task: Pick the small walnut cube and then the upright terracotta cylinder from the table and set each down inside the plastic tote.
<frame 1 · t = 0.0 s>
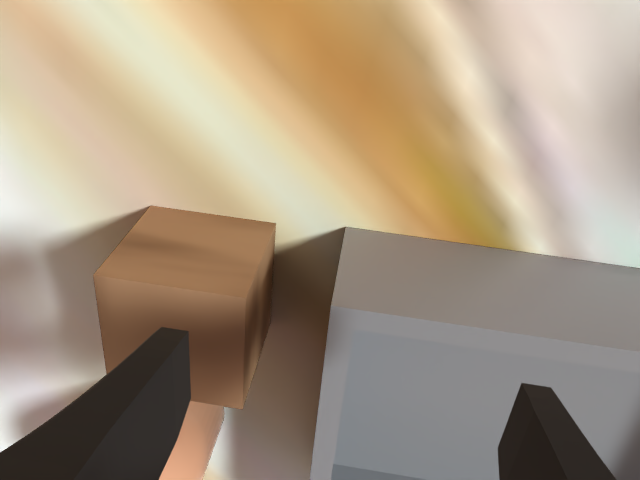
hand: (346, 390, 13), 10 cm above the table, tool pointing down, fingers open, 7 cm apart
tote: (530, 391, 25), on the table
terracotta cylinder: (174, 405, 29), on the table
walnut cube: (213, 266, 24), on the table
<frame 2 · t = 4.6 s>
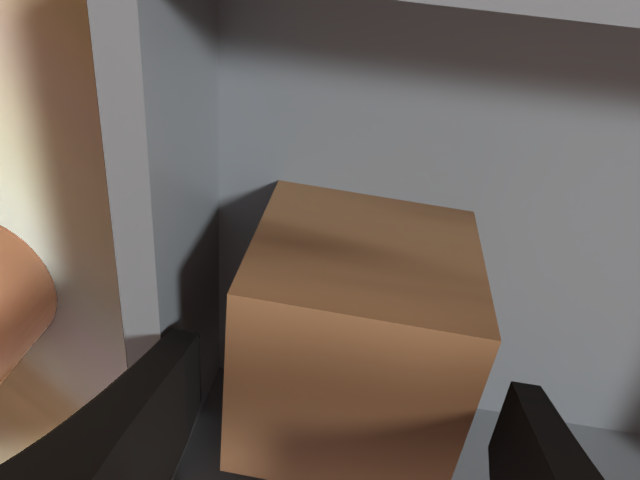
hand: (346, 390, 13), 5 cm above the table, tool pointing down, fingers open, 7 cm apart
tote: (520, 230, 15), on the table
walnut cube: (360, 276, 16), point 1 cm above the table, touching tote
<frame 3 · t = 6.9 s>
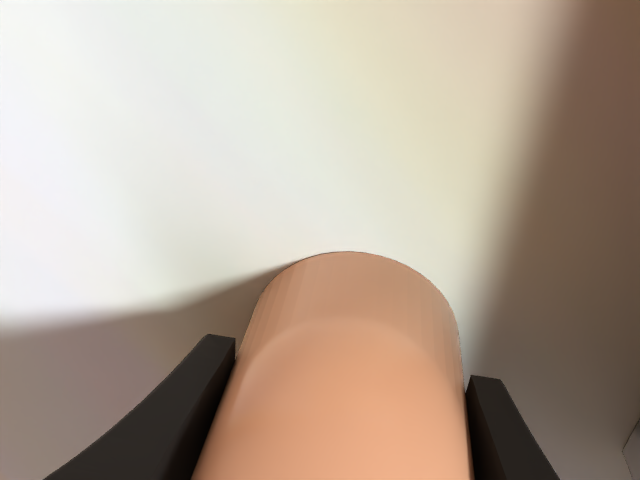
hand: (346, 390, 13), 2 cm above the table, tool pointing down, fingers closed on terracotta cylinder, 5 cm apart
terracotta cylinder: (353, 339, 14), on the table, touching gripper
when the fingers open (4 cm above the table, at t = 10.4 s): terracotta cylinder drops 1 cm, resting on tote.
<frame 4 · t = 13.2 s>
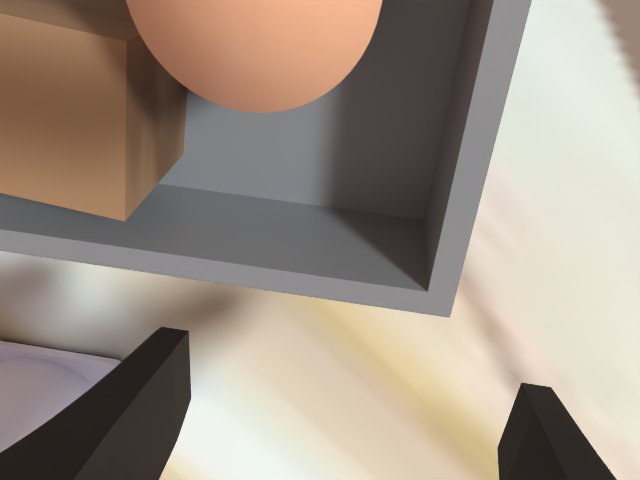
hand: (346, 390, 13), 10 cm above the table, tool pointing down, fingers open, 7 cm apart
tote: (207, 14, 19), on the table
walnut cube: (114, 69, 19), point 1 cm above the table, touching tote
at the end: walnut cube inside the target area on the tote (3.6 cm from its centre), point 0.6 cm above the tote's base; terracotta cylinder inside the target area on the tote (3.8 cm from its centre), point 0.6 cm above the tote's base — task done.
